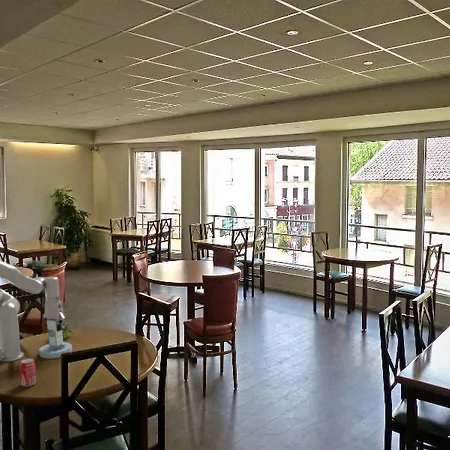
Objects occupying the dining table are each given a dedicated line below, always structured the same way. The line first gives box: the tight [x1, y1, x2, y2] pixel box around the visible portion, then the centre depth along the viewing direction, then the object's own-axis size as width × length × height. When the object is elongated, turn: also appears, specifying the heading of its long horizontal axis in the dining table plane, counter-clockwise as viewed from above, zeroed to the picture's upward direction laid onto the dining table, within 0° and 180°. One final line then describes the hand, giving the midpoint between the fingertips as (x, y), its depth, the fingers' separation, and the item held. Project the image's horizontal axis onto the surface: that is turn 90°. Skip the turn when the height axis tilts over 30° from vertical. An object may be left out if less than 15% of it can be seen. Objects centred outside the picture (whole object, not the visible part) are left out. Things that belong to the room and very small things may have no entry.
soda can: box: [19, 357, 37, 388], centre depth 229 cm, size 7×7×12 cm
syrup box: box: [46, 319, 64, 346], centre depth 269 cm, size 6×6×14 cm
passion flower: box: [62, 321, 74, 340], centre depth 296 cm, size 11×11×12 cm
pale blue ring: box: [38, 341, 73, 360], centre depth 270 cm, size 17×17×3 cm
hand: (54, 329), depth 269 cm, fingers closed on syrup box, 6 cm apart
